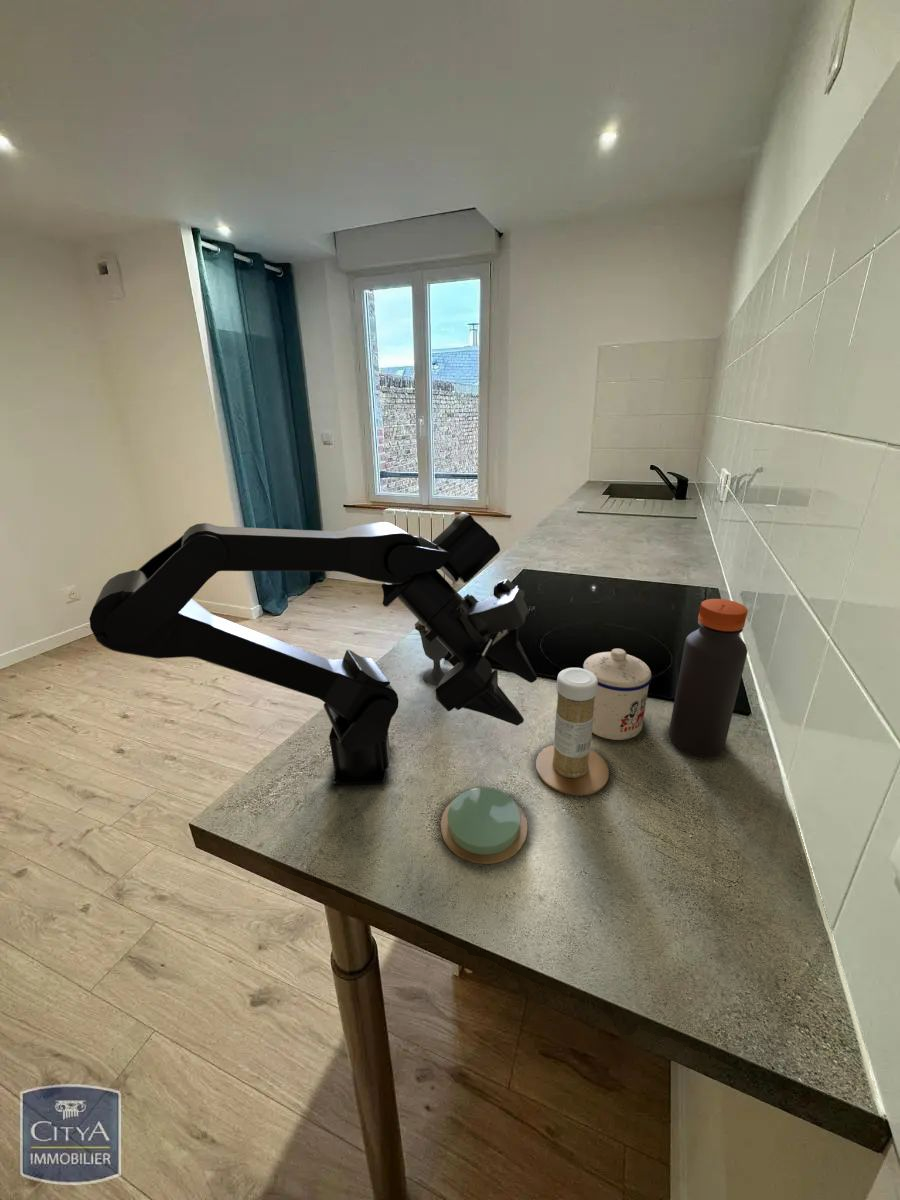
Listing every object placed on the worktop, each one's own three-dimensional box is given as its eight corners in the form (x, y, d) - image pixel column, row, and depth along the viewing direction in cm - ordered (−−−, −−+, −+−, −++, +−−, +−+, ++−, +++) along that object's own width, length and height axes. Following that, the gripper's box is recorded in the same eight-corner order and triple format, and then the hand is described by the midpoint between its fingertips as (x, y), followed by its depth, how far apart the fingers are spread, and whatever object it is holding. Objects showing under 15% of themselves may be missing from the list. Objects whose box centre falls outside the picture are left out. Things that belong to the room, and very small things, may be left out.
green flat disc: (448, 856, 49) (448, 848, 48) (446, 796, 56) (446, 789, 55) (526, 852, 49) (526, 844, 48) (514, 793, 56) (514, 785, 56)
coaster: (544, 797, 56) (544, 795, 56) (529, 746, 64) (529, 744, 64) (619, 793, 56) (619, 791, 56) (595, 743, 64) (595, 741, 64)
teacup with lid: (630, 751, 62) (641, 676, 58) (567, 725, 68) (572, 654, 63) (658, 708, 71) (670, 639, 66) (600, 688, 76) (607, 623, 72)
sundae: (413, 670, 83) (408, 591, 77) (450, 664, 85) (447, 586, 79) (423, 690, 77) (417, 607, 71) (461, 683, 79) (459, 600, 73)
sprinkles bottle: (577, 751, 62) (586, 663, 57) (595, 776, 58) (605, 683, 53) (545, 758, 61) (551, 669, 56) (560, 783, 57) (568, 689, 52)
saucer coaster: (441, 866, 48) (441, 864, 48) (440, 793, 57) (440, 792, 57) (535, 861, 48) (535, 859, 48) (519, 790, 57) (519, 788, 57)
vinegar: (729, 762, 60) (765, 620, 52) (671, 753, 62) (698, 615, 54) (717, 729, 66) (747, 597, 58) (665, 722, 68) (687, 593, 60)
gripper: (461, 599, 45) (571, 715, 46) (504, 545, 61) (585, 631, 62) (392, 659, 50) (492, 761, 51) (449, 595, 67) (524, 674, 68)
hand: (528, 700), depth 58 cm, fingers open, 9 cm apart
